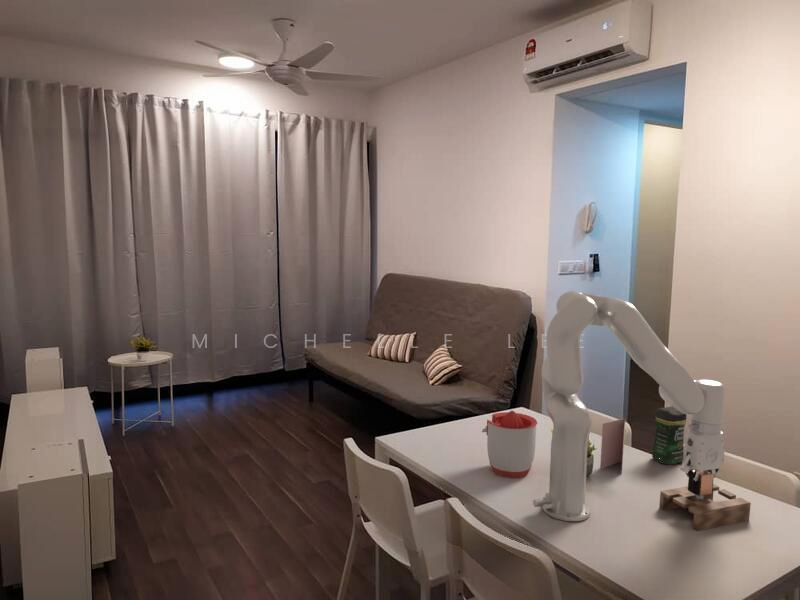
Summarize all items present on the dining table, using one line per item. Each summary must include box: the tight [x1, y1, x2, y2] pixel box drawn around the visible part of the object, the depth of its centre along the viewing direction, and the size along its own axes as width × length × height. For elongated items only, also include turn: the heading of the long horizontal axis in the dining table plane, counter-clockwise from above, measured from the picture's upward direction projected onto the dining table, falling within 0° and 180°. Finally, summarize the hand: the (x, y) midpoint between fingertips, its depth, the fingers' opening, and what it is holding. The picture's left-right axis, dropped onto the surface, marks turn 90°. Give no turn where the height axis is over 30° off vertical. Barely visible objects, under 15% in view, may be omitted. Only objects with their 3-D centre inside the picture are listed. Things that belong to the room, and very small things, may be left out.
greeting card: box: [599, 417, 626, 475], centre depth 190 cm, size 11×7×15 cm, turn 122°
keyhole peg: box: [687, 470, 714, 516], centre depth 159 cm, size 5×5×12 cm
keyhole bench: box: [658, 483, 752, 531], centre depth 159 cm, size 18×13×5 cm
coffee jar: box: [651, 405, 688, 465], centre depth 196 cm, size 10×8×19 cm
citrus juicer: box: [481, 410, 538, 479], centre depth 186 cm, size 16×17×20 cm
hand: (700, 490), depth 158 cm, fingers closed on keyhole peg, 4 cm apart
